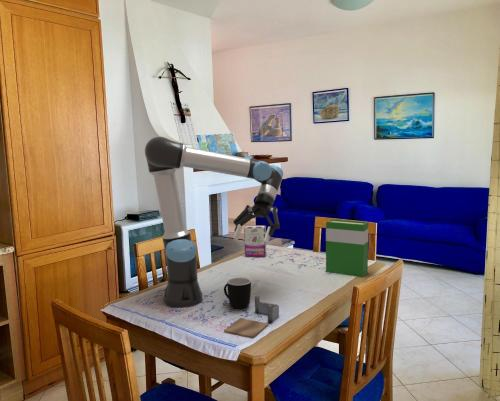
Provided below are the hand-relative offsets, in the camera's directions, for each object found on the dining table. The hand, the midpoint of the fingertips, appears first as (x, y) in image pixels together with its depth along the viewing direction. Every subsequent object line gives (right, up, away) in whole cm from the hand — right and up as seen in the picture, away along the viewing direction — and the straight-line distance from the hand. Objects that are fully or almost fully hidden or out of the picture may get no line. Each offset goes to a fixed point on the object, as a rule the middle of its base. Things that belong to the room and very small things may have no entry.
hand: (250, 241), depth 175 cm
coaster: (-1, -27, -26) cm, 38 cm away
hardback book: (+45, -18, +32) cm, 58 cm away
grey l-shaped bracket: (+5, -25, -16) cm, 31 cm away
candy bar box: (+3, -14, +64) cm, 65 cm away
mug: (-5, -24, -6) cm, 26 cm away
